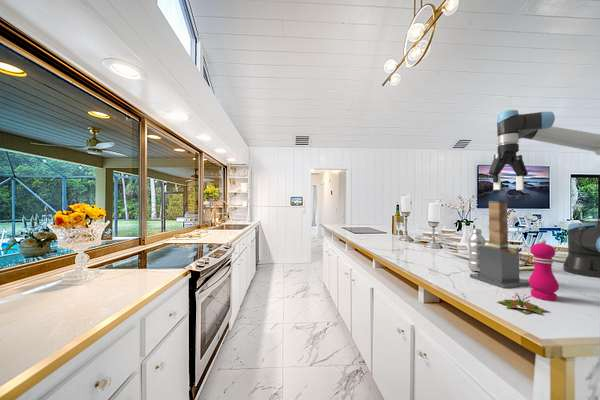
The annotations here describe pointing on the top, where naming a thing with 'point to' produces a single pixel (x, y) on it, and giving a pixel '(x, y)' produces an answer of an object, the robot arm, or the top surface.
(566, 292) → the top surface
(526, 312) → the lily flower
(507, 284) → the sleeve
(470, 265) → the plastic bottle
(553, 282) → the pepper mill
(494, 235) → the column
